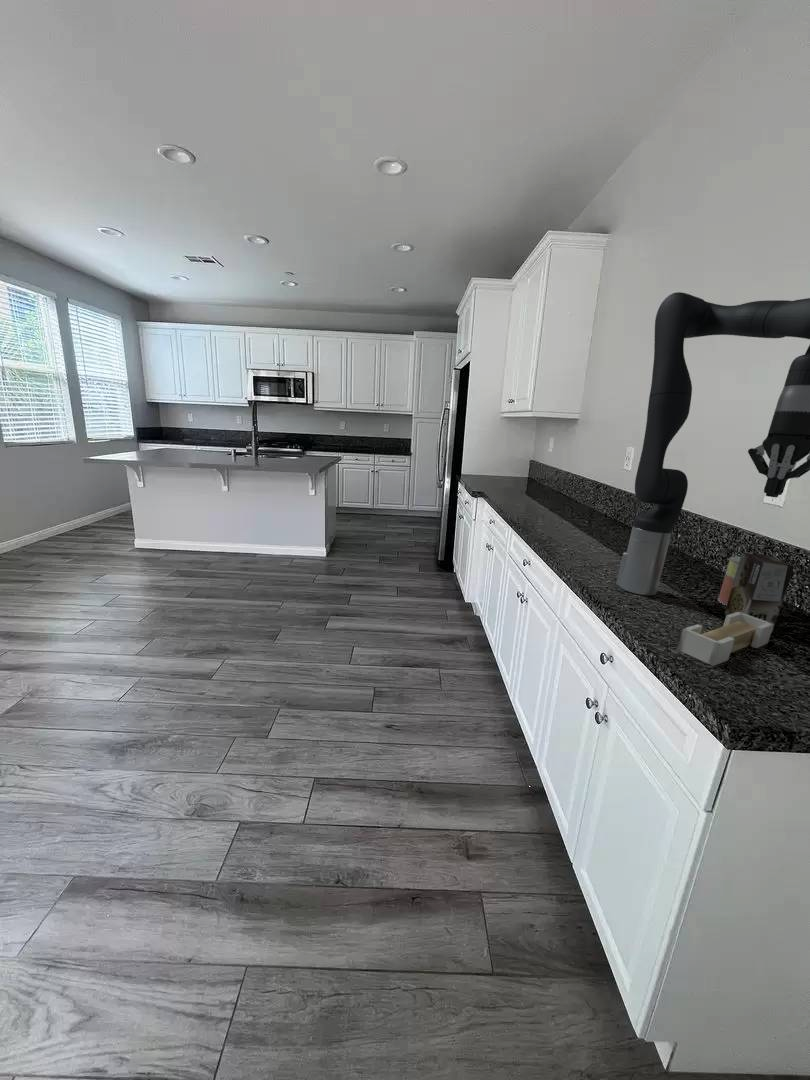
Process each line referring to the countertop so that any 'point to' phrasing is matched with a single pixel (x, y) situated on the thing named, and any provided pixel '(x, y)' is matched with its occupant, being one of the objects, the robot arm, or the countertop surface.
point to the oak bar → (734, 634)
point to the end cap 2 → (761, 625)
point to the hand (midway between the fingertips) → (771, 496)
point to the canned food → (729, 580)
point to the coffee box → (759, 587)
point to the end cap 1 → (704, 646)
